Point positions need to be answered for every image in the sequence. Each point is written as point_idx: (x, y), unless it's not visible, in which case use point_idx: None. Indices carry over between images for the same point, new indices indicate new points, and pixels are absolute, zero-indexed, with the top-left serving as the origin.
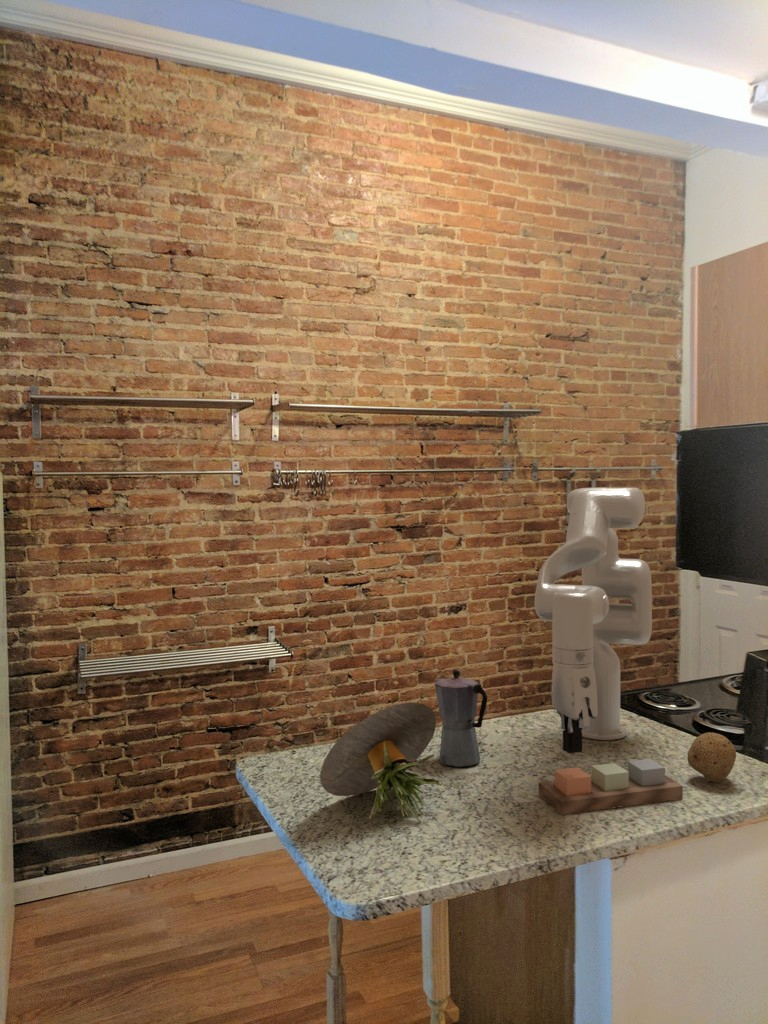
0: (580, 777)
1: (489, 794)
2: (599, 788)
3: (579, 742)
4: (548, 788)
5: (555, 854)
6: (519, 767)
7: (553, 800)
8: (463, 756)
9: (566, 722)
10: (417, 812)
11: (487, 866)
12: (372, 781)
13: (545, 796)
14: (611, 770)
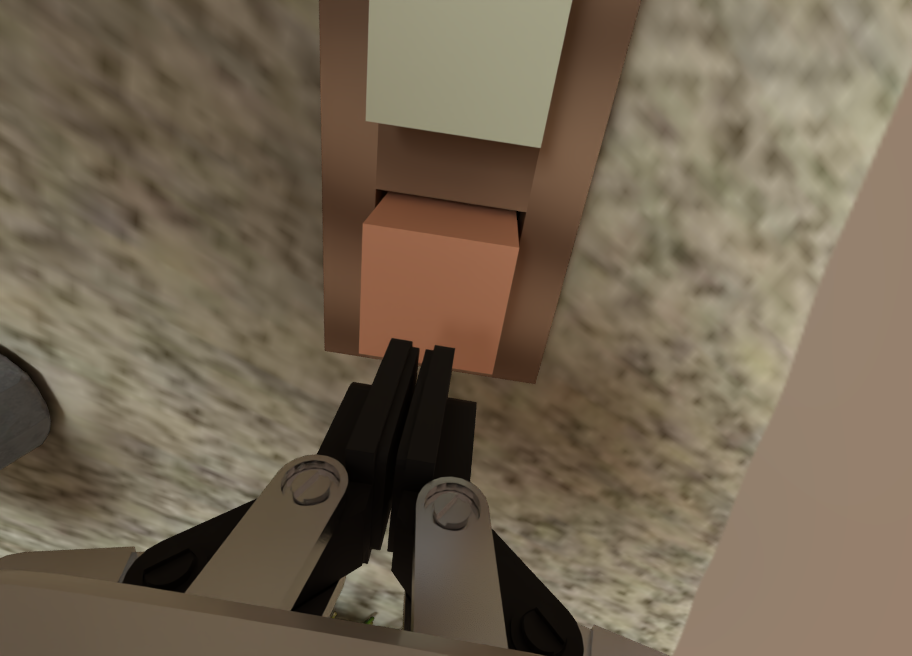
0: (500, 305)
1: (291, 445)
2: (497, 145)
3: (473, 435)
4: None
5: (727, 503)
6: (38, 227)
7: None
8: (16, 438)
9: (324, 613)
10: (370, 620)
11: (661, 616)
12: None
13: None
14: (497, 43)
